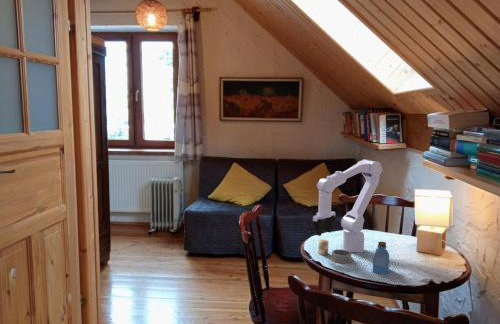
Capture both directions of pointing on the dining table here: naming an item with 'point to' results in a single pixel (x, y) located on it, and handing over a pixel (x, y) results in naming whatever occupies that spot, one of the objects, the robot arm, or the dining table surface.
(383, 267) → the blue corked bottle
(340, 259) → the bottle holder
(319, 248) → the wooden peg
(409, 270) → the dining table surface
